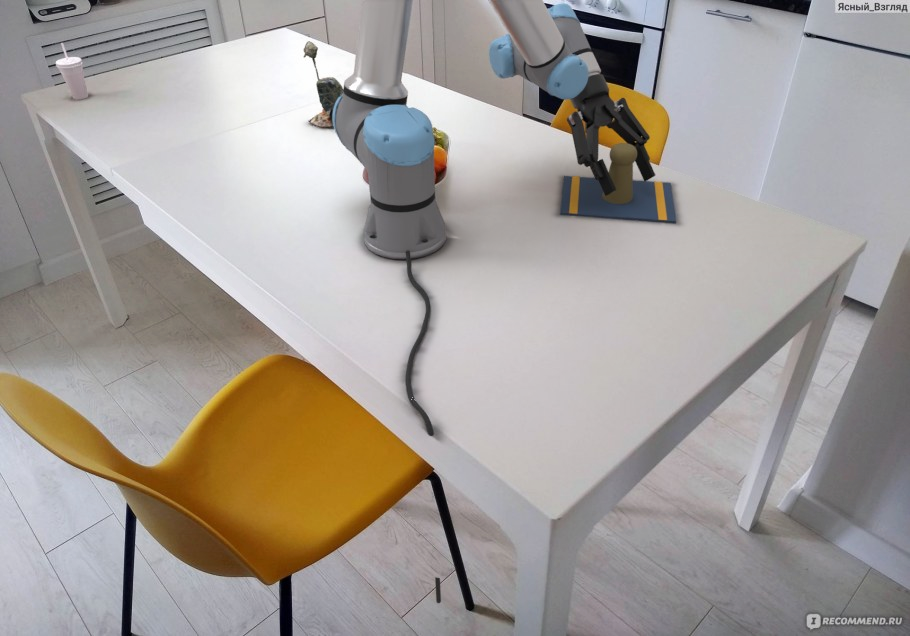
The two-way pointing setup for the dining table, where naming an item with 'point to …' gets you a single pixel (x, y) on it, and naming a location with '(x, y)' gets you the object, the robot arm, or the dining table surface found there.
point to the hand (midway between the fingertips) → (630, 185)
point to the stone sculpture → (324, 91)
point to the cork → (621, 173)
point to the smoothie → (73, 75)
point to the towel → (645, 206)
